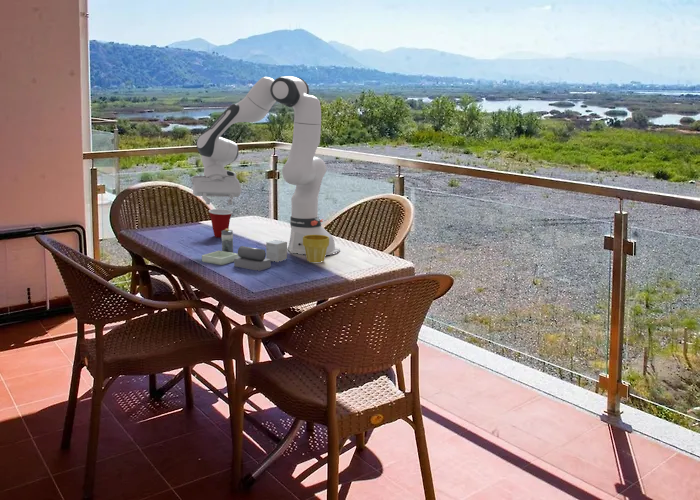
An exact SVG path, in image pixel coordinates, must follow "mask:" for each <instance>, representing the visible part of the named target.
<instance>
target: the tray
mask: <svg viewBox="0 0 700 500" xmlns="http://www.w3.org/2000/svg"><path fill="white" fill-rule="evenodd" d="M238 257H239V256H238V252H237V253H236V252H233V253H231V252H225V251H222V250H216V251H212V252H209V253H205V254H202V255H201V262H202V263H207V264H212V265H213V264H214V265H219V266H223V265H227V264H230V263H234V259H235V258H238Z"/></svg>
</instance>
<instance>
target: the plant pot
mask: <svg viewBox="0 0 700 500" xmlns="http://www.w3.org/2000/svg"><path fill="white" fill-rule="evenodd" d="M303 246H305V252H306V255H305V256H306V261H307V262H308V261H309V262H308V263H311V262H321V261H324V262H325V258H326V256H325V254H326V250H327V247H328V246H329V237H328V236H325V235H306V236H304V237H303ZM321 263H322V262H321Z"/></svg>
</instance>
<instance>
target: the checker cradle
mask: <svg viewBox="0 0 700 500" xmlns="http://www.w3.org/2000/svg"><path fill="white" fill-rule="evenodd" d="M237 254H238V258H235V259H234V262H233V263H234V265H233V266H234V267H235V268H240V269H241V268H242V269H248V270H253V271H257V270H258V271H259V272H261V271H263V270H266V269H270V268H271V267H272V265H271V262H272V261H271V259H266V250H265V249H263V248H262V249H261V248H257V247H256V248H255V247H250V246H244V245H241V246H239V247H238V249H237Z"/></svg>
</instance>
